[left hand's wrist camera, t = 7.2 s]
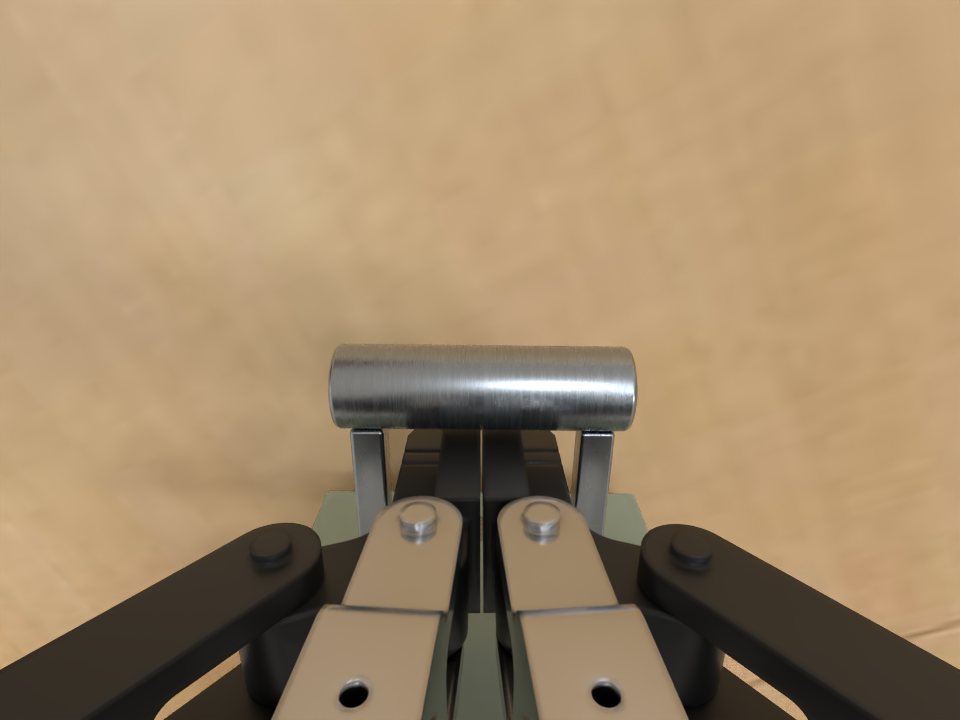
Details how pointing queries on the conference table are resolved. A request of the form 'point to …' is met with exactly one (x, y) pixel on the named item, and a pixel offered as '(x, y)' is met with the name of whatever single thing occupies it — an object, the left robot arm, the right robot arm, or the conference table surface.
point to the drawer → (481, 406)
